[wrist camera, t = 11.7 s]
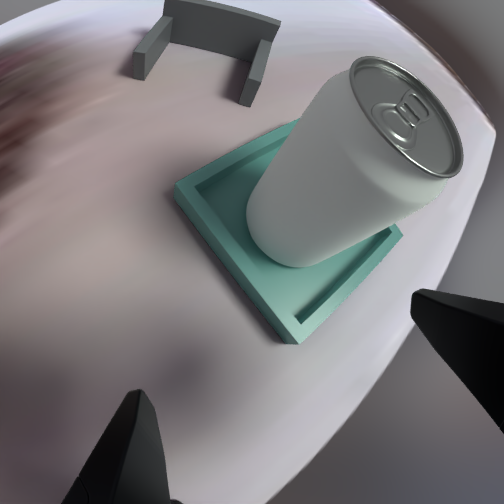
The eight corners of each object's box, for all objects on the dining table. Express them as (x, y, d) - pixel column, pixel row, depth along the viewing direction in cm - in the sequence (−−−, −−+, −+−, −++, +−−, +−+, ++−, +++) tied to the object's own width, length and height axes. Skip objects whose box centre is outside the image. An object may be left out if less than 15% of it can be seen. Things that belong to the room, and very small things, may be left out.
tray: (387, 243, 23) (403, 235, 21) (286, 344, 19) (299, 344, 17) (296, 129, 24) (307, 114, 22) (173, 197, 19) (175, 183, 17)
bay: (250, 107, 23) (270, 63, 18) (133, 78, 21) (133, 31, 16) (263, 60, 25) (281, 21, 20) (163, 35, 23) (169, -7, 18)
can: (222, 212, 19) (302, 65, 8) (289, 162, 22) (384, 40, 11) (292, 290, 19) (446, 225, 8) (349, 230, 22) (480, 147, 10)
